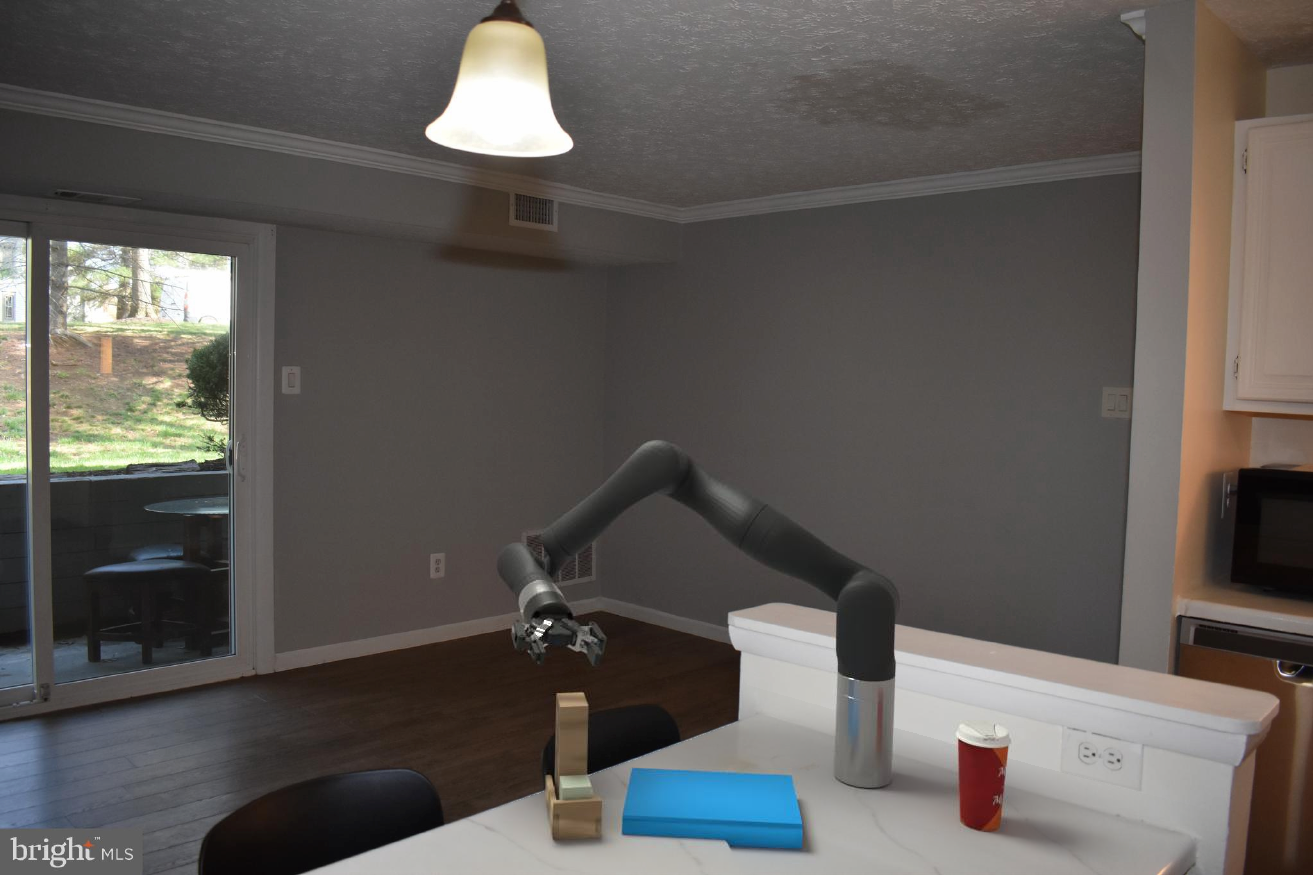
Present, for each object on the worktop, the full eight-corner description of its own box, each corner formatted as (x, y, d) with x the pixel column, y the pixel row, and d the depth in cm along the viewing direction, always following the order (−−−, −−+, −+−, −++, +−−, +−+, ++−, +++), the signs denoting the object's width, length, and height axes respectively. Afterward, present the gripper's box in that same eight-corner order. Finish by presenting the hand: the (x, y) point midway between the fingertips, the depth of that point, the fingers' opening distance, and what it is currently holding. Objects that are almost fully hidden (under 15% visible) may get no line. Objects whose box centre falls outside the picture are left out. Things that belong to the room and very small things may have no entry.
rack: (545, 804, 138) (546, 765, 138) (589, 801, 139) (589, 762, 139) (552, 846, 125) (553, 803, 125) (600, 843, 126) (601, 800, 126)
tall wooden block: (554, 799, 138) (556, 693, 137) (580, 797, 138) (583, 692, 138) (558, 817, 132) (560, 706, 131) (585, 815, 132) (588, 705, 132)
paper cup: (1015, 835, 132) (1019, 739, 131) (961, 833, 132) (965, 737, 131) (996, 811, 140) (1000, 720, 139) (945, 809, 140) (949, 718, 139)
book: (630, 767, 144) (791, 772, 143) (630, 794, 144) (790, 799, 143) (621, 817, 127) (804, 822, 126) (621, 847, 127) (803, 853, 126)
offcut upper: (559, 796, 130) (559, 776, 130) (587, 795, 131) (587, 774, 131) (561, 809, 126) (562, 788, 126) (590, 807, 127) (591, 786, 127)
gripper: (506, 587, 149) (528, 635, 134) (590, 592, 154) (619, 638, 140) (498, 629, 151) (519, 681, 136) (581, 632, 156) (609, 682, 142)
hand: (570, 659), depth 138 cm, fingers open, 8 cm apart
